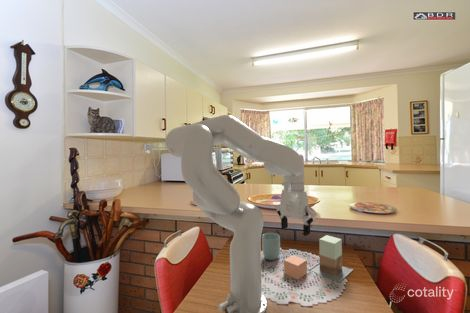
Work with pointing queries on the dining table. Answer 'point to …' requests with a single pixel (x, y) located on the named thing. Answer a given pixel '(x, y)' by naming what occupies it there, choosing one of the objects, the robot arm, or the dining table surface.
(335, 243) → the sage brick
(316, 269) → the plate
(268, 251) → the cup
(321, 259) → the walnut brick
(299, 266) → the terracotta brick
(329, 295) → the dining table surface
